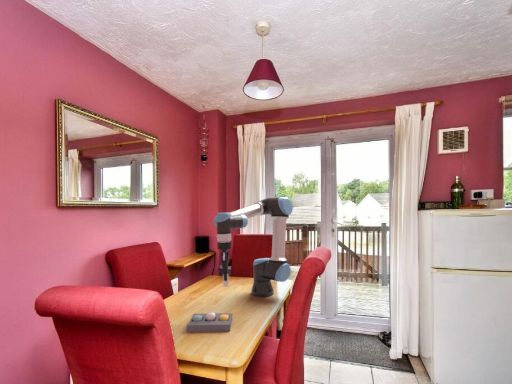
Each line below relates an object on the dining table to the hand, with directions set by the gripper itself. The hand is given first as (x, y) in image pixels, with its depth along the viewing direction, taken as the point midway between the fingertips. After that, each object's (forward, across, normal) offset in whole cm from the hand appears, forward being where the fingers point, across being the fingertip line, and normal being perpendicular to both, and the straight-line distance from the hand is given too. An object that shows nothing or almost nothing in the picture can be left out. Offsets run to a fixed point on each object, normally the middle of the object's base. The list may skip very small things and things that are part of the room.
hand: (225, 286), depth 141 cm
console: (+16, +9, -7) cm, 20 cm away
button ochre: (+14, +9, -1) cm, 17 cm away
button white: (+13, +9, -7) cm, 18 cm away
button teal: (+14, +9, -14) cm, 22 cm away
